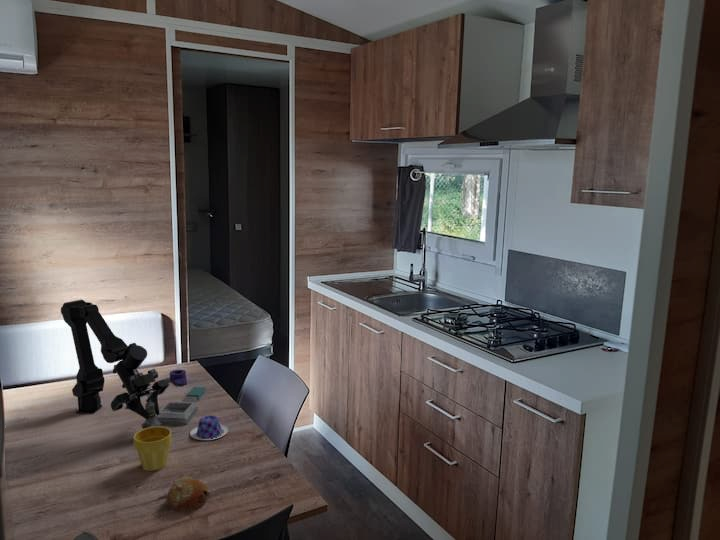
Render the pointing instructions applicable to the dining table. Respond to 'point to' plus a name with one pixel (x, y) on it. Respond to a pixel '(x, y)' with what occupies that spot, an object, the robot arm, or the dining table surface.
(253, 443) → the dining table surface
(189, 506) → the bread roll
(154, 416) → the chess piece
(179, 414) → the square frying pan
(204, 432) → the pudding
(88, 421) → the dining table surface
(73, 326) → the robot arm
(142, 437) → the plant pot
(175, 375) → the lever
